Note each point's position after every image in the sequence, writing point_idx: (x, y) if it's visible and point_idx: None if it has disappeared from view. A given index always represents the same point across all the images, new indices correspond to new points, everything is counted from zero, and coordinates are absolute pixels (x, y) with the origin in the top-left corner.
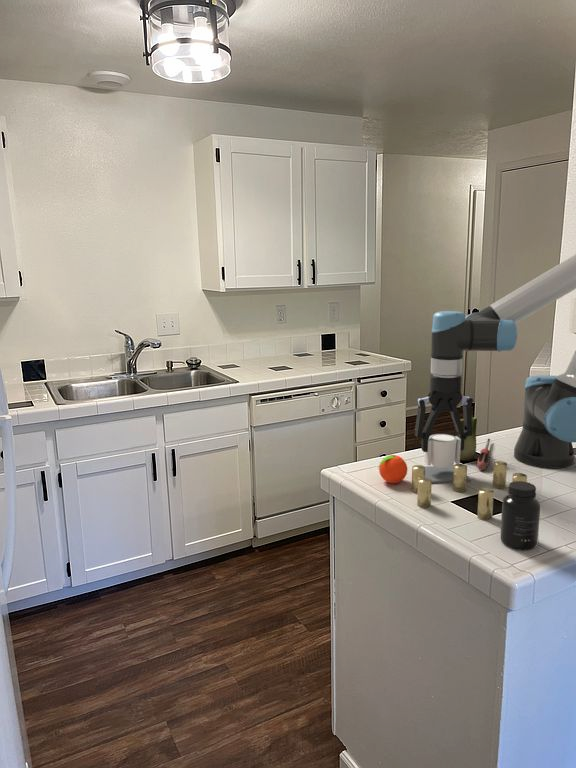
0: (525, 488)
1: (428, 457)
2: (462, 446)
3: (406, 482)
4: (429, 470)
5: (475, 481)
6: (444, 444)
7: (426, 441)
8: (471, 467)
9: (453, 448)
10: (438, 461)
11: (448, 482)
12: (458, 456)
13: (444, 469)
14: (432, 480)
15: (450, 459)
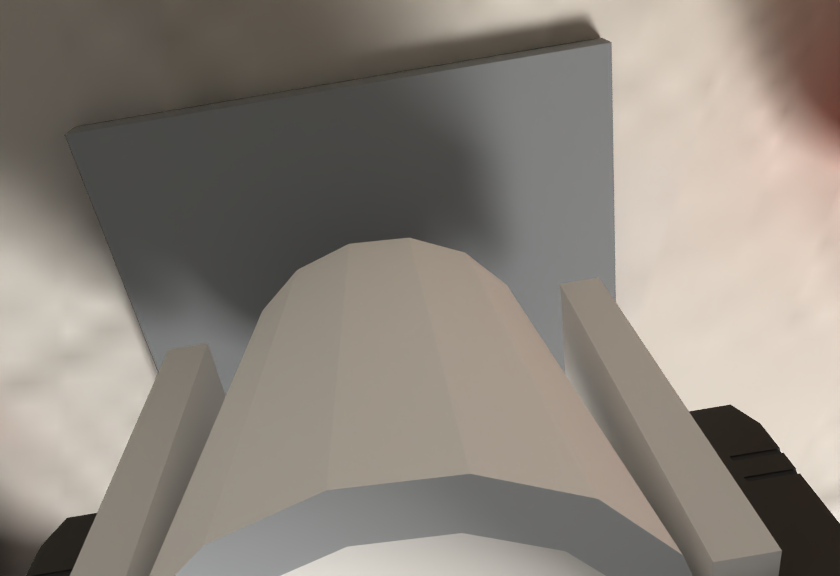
0: None
1: (631, 337)
2: (54, 570)
3: (816, 77)
4: None
5: (15, 134)
6: (443, 439)
7: (788, 559)
8: (63, 490)
9: (230, 441)
10: (479, 286)
11: (344, 83)
12: (164, 411)
13: None
14: (540, 76)
15: (299, 311)
